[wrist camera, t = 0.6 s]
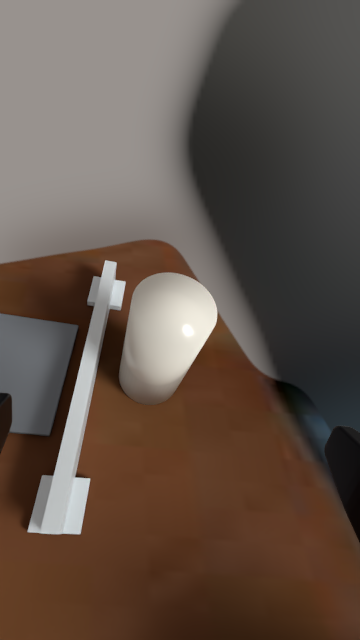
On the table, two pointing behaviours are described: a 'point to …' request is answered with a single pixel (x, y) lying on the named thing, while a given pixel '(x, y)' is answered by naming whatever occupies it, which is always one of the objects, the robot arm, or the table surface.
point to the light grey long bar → (77, 422)
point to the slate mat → (34, 369)
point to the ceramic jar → (164, 335)
